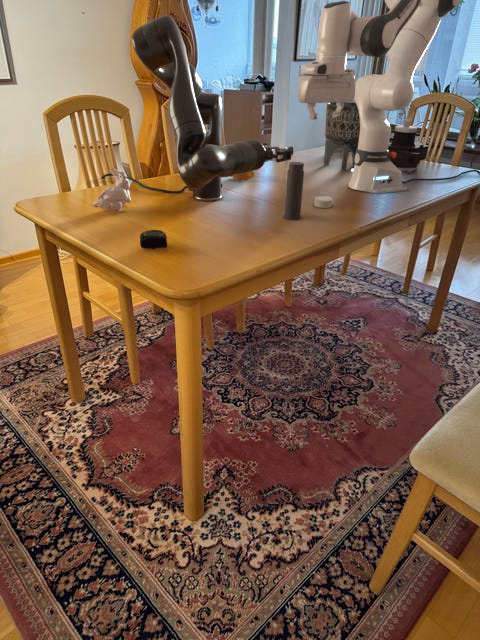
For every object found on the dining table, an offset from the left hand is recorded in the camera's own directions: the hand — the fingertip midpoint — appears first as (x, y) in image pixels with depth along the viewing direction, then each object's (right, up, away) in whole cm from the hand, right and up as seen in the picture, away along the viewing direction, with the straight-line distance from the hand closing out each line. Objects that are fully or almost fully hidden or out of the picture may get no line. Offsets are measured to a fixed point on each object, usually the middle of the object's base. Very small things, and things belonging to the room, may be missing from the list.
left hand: (278, 148), depth 125 cm
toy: (-10, +11, +62) cm, 63 cm away
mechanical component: (+65, +23, +85) cm, 110 cm away
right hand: (+16, +15, +15) cm, 27 cm away
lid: (+18, -6, +29) cm, 35 cm away
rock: (+46, +44, +120) cm, 136 cm away
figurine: (-51, -12, +21) cm, 56 cm away
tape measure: (-33, -29, -7) cm, 44 cm away
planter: (+37, +24, +85) cm, 96 cm away
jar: (+6, -15, +18) cm, 24 cm away
